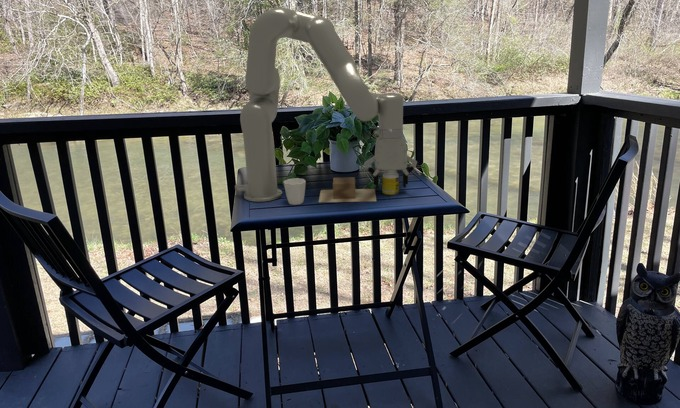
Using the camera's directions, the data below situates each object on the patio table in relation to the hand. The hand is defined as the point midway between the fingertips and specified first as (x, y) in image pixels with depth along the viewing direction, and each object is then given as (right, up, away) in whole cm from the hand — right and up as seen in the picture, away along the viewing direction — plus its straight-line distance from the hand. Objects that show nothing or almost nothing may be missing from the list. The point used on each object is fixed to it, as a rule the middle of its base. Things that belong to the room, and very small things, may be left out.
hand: (390, 186), depth 171 cm
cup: (-30, -6, -5) cm, 31 cm away
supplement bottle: (0, -3, +1) cm, 3 cm away
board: (-14, -4, -1) cm, 14 cm away
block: (-15, -3, -1) cm, 15 cm away
